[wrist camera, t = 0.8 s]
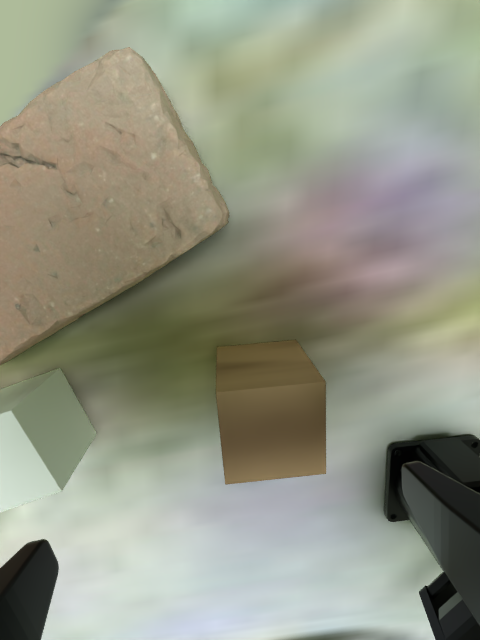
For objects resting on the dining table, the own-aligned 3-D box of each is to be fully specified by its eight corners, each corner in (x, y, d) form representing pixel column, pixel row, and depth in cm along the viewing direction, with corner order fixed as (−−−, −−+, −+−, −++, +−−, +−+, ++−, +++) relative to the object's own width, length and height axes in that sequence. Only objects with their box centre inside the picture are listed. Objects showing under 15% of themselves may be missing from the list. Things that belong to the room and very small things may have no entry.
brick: (152, 74, 16) (126, 15, 12) (235, 223, 19) (240, 220, 14) (-98, 243, 18) (-206, 247, 13) (6, 362, 20) (-57, 401, 16)
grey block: (97, 432, 21) (61, 491, 17) (27, 457, 22) (-28, 521, 17) (60, 367, 20) (10, 410, 15) (-14, 393, 20) (-86, 444, 15)
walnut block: (297, 409, 22) (325, 473, 16) (223, 416, 22) (225, 484, 16) (295, 339, 20) (325, 381, 15) (216, 346, 20) (215, 392, 15)
